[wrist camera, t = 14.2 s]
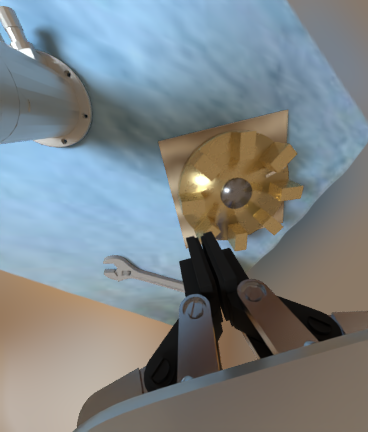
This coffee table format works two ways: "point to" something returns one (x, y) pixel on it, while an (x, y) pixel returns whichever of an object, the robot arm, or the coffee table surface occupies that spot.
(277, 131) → the base plate
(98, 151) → the coffee table surface
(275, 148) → the bevel gear
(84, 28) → the coffee table surface
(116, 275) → the adjustable wrench
